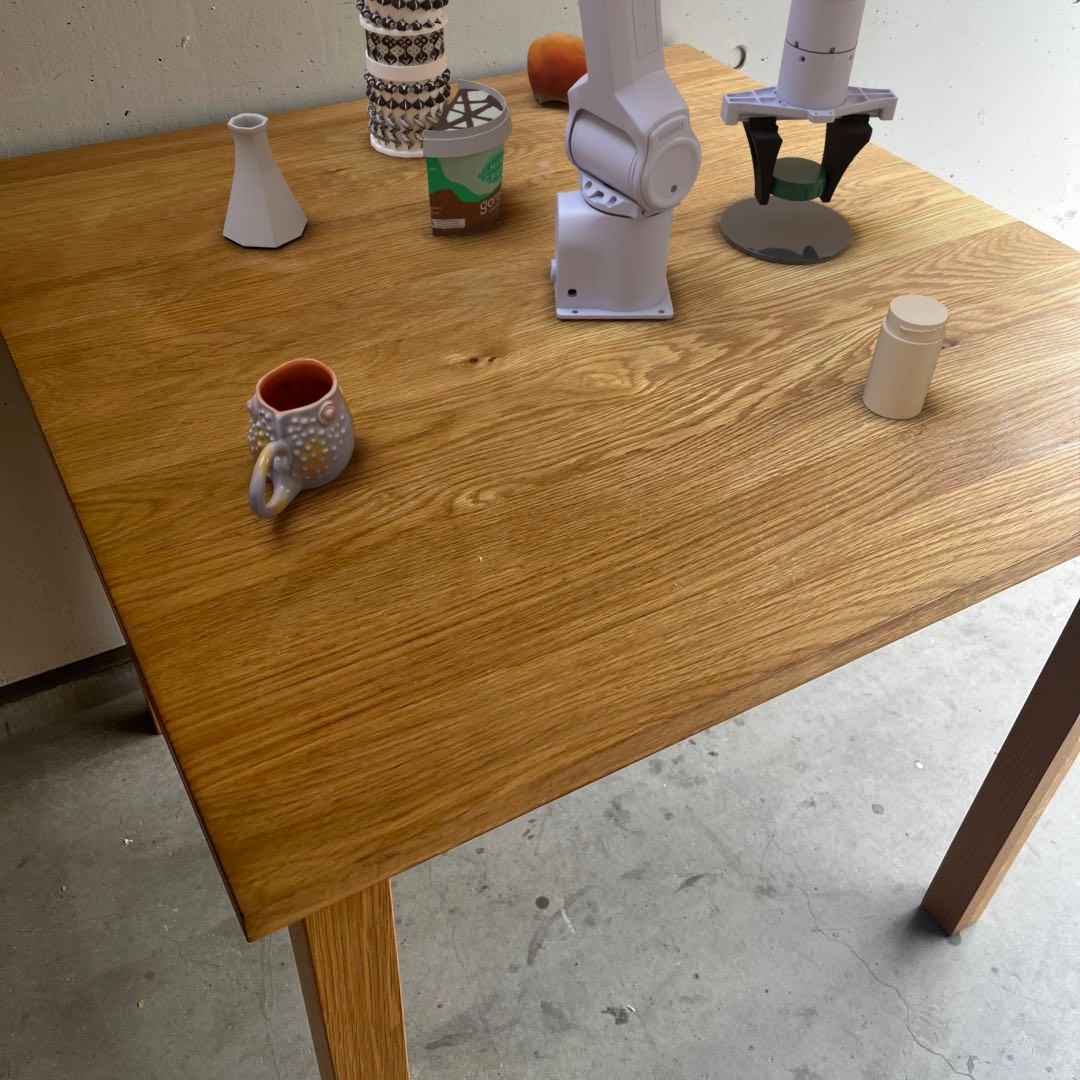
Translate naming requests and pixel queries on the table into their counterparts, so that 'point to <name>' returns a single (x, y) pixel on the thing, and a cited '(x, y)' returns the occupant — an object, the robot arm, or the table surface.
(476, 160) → the food container
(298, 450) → the mug
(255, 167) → the flask
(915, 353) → the jar
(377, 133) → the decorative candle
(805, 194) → the lid
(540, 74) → the fruit
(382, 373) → the table surface
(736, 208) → the coaster
